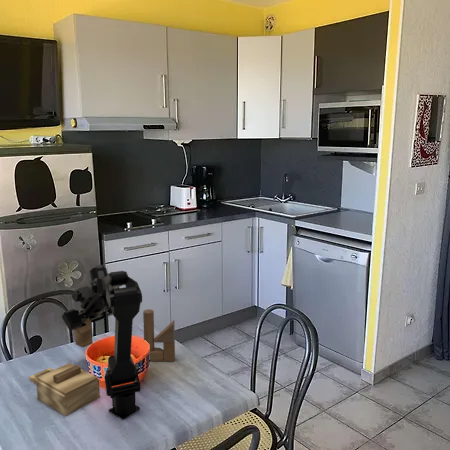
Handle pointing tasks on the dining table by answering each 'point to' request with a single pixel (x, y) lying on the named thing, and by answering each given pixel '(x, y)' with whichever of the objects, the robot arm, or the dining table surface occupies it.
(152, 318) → the wooden block
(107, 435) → the dining table surface
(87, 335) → the brown block
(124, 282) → the robot arm
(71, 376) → the lid
